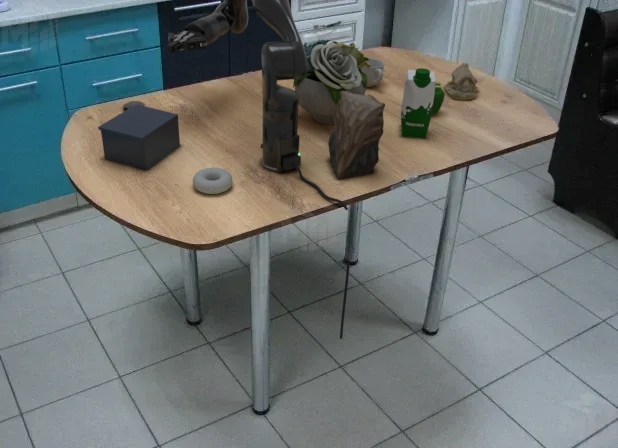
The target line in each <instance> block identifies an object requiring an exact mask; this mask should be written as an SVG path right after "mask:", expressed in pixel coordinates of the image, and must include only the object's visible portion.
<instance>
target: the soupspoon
mask: <svg viewBox="0 0 618 448" xmlns="http://www.w3.org/2000/svg"><path fill="white" fill-rule="evenodd" d="M136 104H137V105H141V106H145V107H146V104H145V103H144V102H143V101H139V100H131V101H130V100H129V101H127V102H126V103H124V104H123V105H122V107H123V108H125V109H129V108H131V107H133V106H134V105H136Z"/></svg>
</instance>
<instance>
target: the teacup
mask: <svg viewBox="0 0 618 448" xmlns="http://www.w3.org/2000/svg"><path fill="white" fill-rule="evenodd" d="M368 58H369V60H368V61H367V62H369V63H370V64H371V67H369V68H368V67H365V66H364V67H362V68H361V71H362V72H363V73H364V74H366V76H367V78H368V80H367V88H372V87H373V88H374V87H375V86H376V85H378V84H380V82H381V81H383V79H384V68H385V62H384V61H382V60H380V59H378V58H373V57H368Z"/></svg>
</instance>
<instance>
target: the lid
mask: <svg viewBox="0 0 618 448" xmlns="http://www.w3.org/2000/svg"><path fill="white" fill-rule="evenodd" d="M177 117H178V118H179V114H178V113H175V112H169V111H166V110H160V109H157V108H153V107H149V106H146V105H145V106H141V105H137V104H136V105H134V106H133V107H131V108H126V110H124V111H122V112H121V113H119V114H117V115H116V116H114V117H112V118H110V119H108V120H107V121H106V122H104V123H102V124H101V125H99V126H98V127H97V128H98V130H99V131H101V130H102V131H106V132H110V133H114V134H118V135H121V136H125V137H129V138H133V139H137V140H141V141H143V140H144V139H146V138H147V137H149V136H150V135H152V134H153V133H155V132H156V131H158V130H159V129H161V128H162V127H164V126H165V125H167V124H168V123H170V122H171V121H173V120H174V119H176V118H177Z"/></svg>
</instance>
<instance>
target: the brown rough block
mask: <svg viewBox="0 0 618 448" xmlns="http://www.w3.org/2000/svg"><path fill="white" fill-rule="evenodd" d="M385 107H386V103H384V102H380V101H379V100H378V99H376V97H374V95H371V94H365V95H361V94H352V93H351V92H348V91H341V92H340V100H339V102H338V104H337V105H336V108H335V111H334V123H333V125H334V126H333V127H332V131H331V132H330V136H329V138H328V145H327V146H328V152H329V158H330V159H329V163H330V164H331V168H332V170H333V174H334V176H335V177H336V179H337V180H339V181H340V180H344V179H348V178H353V177H360V176H362V175H370V174H372V173H374V172H375V171H376V170H375V169H374V168H375V166H376V165H377V164H378V163H379V161H380V158H379V157H380V156H379V150H380V148H379V144H380V140H381V138H382V136H383V135H384V125H385V124H384V123H385V120H384V109H385Z"/></svg>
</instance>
